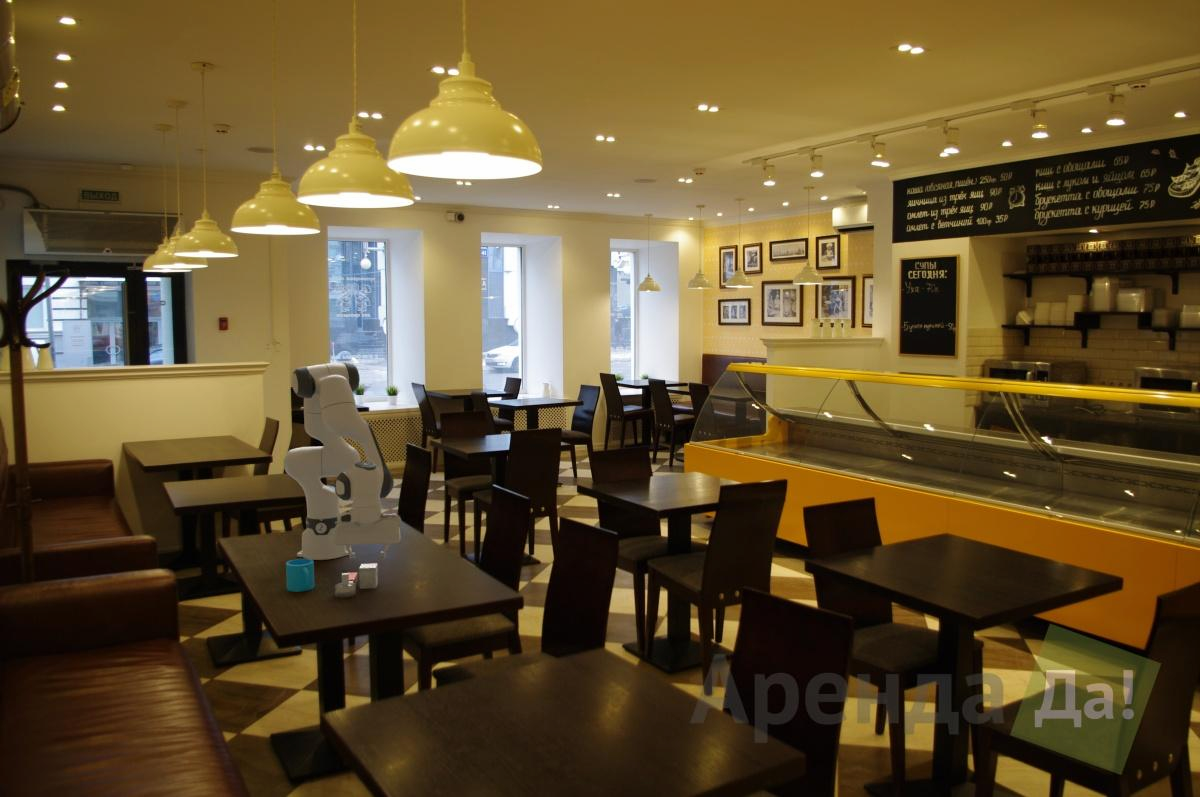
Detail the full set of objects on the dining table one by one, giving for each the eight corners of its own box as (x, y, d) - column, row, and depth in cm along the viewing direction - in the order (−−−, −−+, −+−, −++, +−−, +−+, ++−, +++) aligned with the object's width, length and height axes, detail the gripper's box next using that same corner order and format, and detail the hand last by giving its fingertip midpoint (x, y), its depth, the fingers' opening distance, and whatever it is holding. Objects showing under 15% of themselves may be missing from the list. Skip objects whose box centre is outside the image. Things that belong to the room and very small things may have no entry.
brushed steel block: (361, 584, 283) (361, 563, 282) (377, 583, 284) (377, 563, 283) (359, 588, 278) (359, 568, 278) (376, 588, 279) (375, 567, 278)
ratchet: (342, 580, 287) (342, 560, 287) (362, 579, 288) (361, 560, 287) (333, 598, 269) (333, 576, 268) (354, 597, 270) (353, 576, 269)
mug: (283, 586, 280) (282, 561, 279) (309, 582, 285) (308, 557, 284) (295, 596, 270) (294, 570, 270) (322, 591, 275) (321, 565, 274)
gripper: (401, 511, 283) (402, 554, 284) (335, 513, 280) (336, 556, 281) (400, 515, 277) (400, 559, 278) (332, 517, 274) (333, 561, 275)
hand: (367, 558), depth 279 cm, fingers open, 8 cm apart
